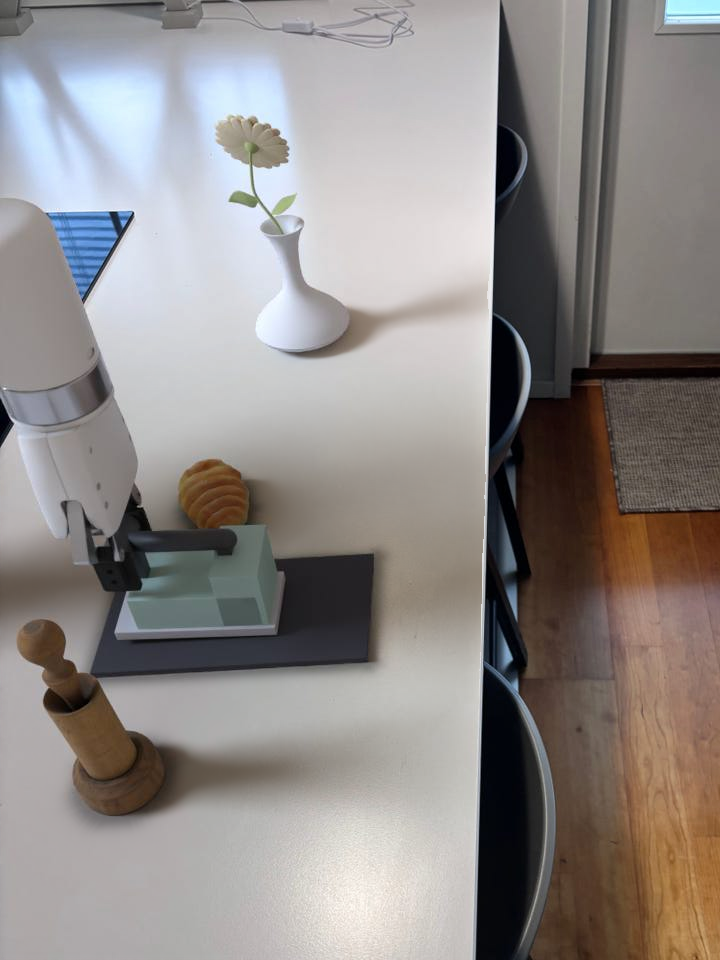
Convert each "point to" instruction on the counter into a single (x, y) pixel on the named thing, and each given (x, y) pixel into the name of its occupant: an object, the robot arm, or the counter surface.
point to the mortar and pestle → (92, 728)
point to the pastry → (213, 495)
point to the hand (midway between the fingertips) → (130, 564)
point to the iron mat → (299, 641)
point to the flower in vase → (282, 248)
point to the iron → (200, 583)
